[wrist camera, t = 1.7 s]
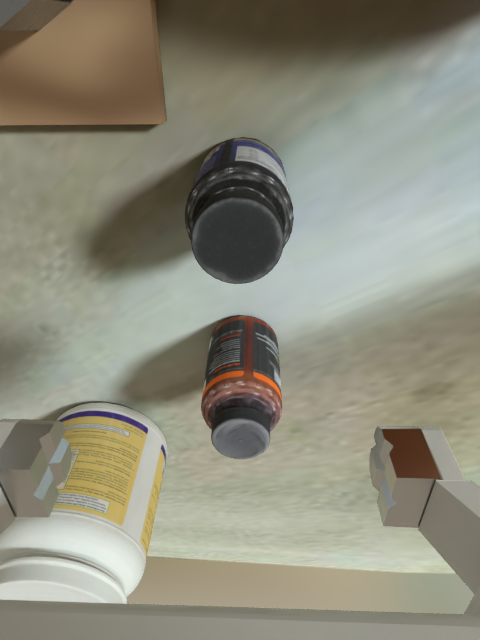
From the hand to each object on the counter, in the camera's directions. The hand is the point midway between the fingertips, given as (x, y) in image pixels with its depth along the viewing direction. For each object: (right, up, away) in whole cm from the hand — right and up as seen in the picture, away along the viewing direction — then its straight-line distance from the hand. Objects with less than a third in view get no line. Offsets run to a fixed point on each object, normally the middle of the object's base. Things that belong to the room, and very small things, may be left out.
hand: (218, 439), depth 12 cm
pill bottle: (+1, +13, +20) cm, 24 cm away
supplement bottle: (+1, +1, +28) cm, 28 cm away
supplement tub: (-13, -9, +35) cm, 39 cm away
